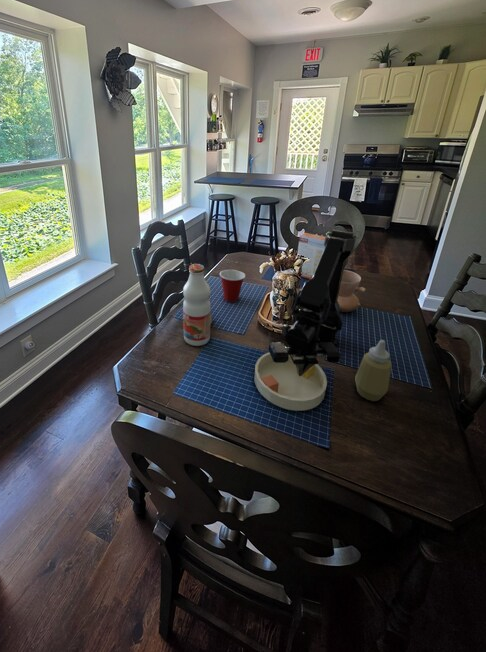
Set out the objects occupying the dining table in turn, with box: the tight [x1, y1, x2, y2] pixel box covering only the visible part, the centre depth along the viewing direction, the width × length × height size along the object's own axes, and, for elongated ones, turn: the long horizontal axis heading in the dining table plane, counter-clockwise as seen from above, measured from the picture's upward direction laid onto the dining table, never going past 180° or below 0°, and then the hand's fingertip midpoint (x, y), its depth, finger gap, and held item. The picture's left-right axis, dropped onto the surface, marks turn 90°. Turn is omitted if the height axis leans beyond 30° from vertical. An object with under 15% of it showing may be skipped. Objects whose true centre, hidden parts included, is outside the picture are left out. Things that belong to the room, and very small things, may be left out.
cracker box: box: [297, 232, 325, 280], centre depth 152 cm, size 14×6×21 cm, turn 46°
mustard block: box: [302, 365, 315, 379], centre depth 96 cm, size 4×4×4 cm
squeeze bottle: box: [354, 339, 392, 402], centre depth 86 cm, size 8×8×18 cm
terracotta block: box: [261, 375, 279, 393], centre depth 90 cm, size 4×4×4 cm
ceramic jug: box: [337, 269, 366, 313], centre depth 129 cm, size 18×14×14 cm
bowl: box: [253, 351, 328, 412], centre depth 93 cm, size 20×20×4 cm
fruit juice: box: [182, 263, 212, 347], centre depth 108 cm, size 9×9×28 cm
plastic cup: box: [219, 269, 246, 303], centre depth 136 cm, size 11×11×12 cm
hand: (299, 375), depth 94 cm, fingers closed
